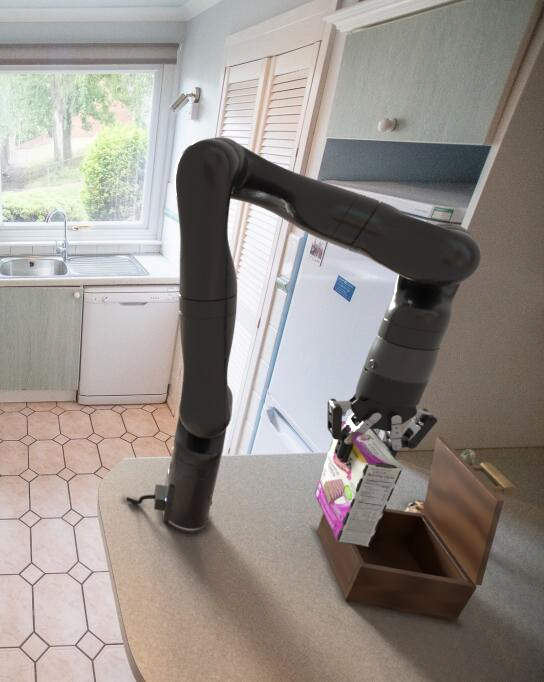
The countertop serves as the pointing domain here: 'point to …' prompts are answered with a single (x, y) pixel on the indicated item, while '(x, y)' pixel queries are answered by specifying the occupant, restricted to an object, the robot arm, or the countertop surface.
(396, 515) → the chest
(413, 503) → the plant with pod
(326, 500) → the candy bar box
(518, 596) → the countertop surface
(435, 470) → the lid
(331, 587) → the countertop surface
